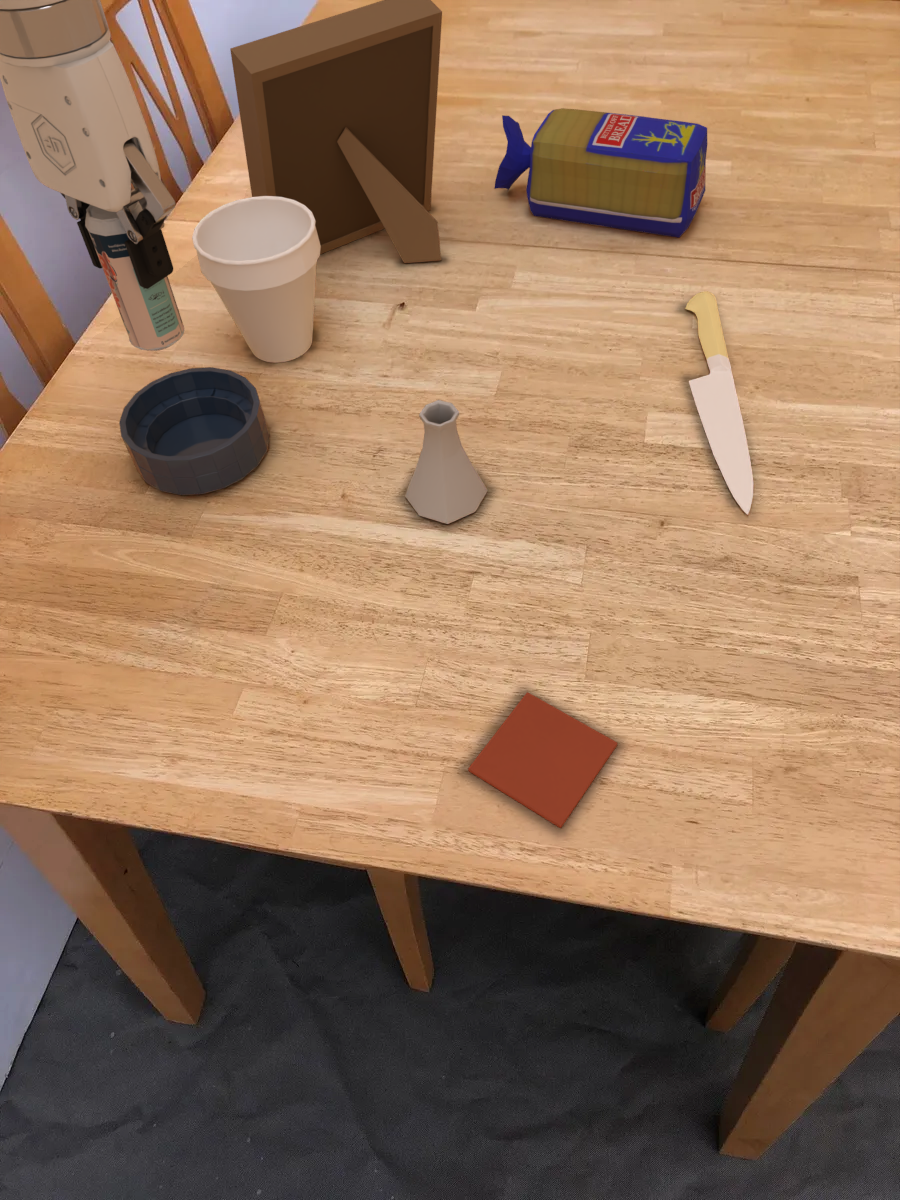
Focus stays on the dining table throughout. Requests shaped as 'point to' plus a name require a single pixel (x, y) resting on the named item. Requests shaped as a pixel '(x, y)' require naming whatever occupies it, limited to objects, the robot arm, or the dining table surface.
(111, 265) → the beer can
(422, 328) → the dining table surface
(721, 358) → the knife
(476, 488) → the flask
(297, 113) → the photo frame
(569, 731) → the mat
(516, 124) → the bread
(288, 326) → the cup
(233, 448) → the bowl
